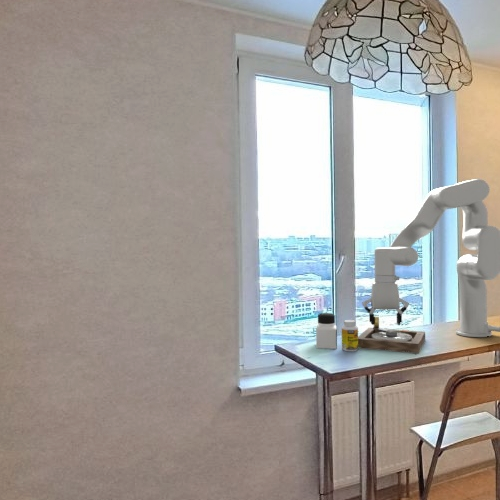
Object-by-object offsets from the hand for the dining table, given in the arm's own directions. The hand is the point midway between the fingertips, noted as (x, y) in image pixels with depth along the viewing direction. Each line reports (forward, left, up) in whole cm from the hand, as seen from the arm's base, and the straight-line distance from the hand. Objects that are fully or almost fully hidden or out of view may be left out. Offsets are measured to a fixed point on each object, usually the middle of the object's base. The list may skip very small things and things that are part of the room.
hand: (385, 324), depth 167 cm
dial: (-2, +6, -4) cm, 8 cm away
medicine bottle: (+17, +19, -6) cm, 27 cm away
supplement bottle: (+8, +21, -6) cm, 24 cm away
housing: (-3, +7, -6) cm, 10 cm away
